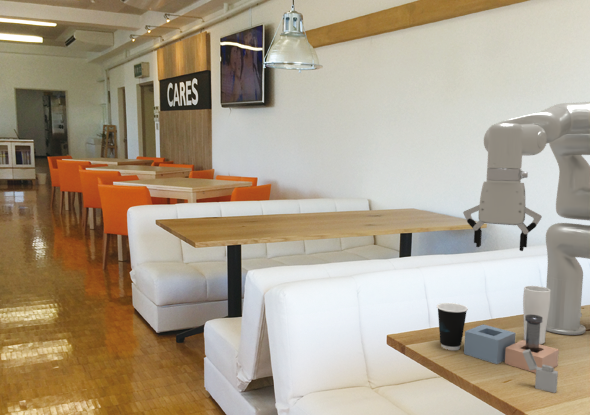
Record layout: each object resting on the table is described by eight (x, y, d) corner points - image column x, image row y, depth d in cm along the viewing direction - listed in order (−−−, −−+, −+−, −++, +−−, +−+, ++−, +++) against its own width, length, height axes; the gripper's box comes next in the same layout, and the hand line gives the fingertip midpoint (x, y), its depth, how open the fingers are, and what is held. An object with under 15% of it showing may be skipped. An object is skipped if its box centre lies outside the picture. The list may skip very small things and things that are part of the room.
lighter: (556, 390, 118) (559, 354, 117) (555, 393, 117) (557, 357, 116) (522, 382, 122) (524, 347, 121) (520, 384, 121) (522, 350, 120)
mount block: (521, 354, 139) (522, 339, 139) (557, 365, 132) (558, 349, 132) (504, 363, 133) (505, 347, 133) (541, 374, 126) (542, 358, 126)
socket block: (482, 346, 145) (483, 324, 144) (514, 355, 138) (515, 332, 138) (464, 353, 139) (465, 331, 139) (496, 364, 132) (498, 340, 132)
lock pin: (527, 360, 135) (529, 313, 134) (542, 364, 132) (545, 317, 131) (520, 364, 133) (522, 316, 132) (535, 368, 130) (538, 320, 129)
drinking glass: (550, 347, 145) (553, 292, 144) (523, 344, 146) (526, 290, 145) (544, 338, 152) (547, 286, 150) (518, 336, 153) (521, 284, 152)
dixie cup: (468, 345, 146) (470, 305, 144) (462, 354, 139) (464, 312, 138) (439, 340, 149) (440, 301, 148) (431, 348, 142) (433, 308, 141)
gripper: (544, 177, 127) (540, 249, 128) (467, 175, 134) (464, 243, 136) (543, 178, 120) (538, 254, 121) (463, 175, 127) (459, 247, 129)
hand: (499, 248), depth 129 cm, fingers open, 9 cm apart
